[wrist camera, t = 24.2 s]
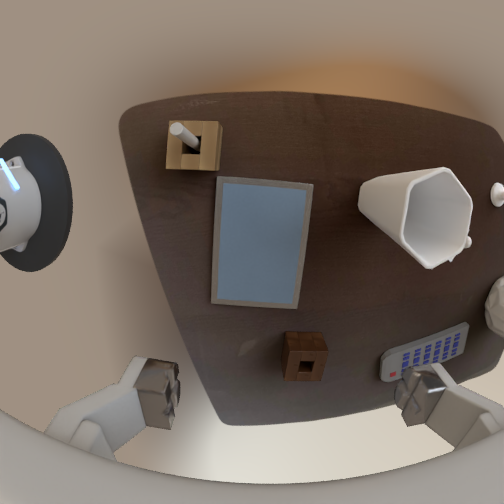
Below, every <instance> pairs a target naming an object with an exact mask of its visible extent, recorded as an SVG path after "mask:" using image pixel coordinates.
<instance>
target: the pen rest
mask: <svg viewBox="0 0 504 504" xmlns="http://www.w3.org/2000/svg"><path fill="white" fill-rule="evenodd" d="M176 122H178V123H181V124H182V125H183V126H184V127H185V128H186V129H187V130H189V131H190V132H191V133H192V134H193V135H194V136H195V137H196V138H197V139H199V140H201V148H200V155H199V154H191V147H190V146H189V145H187V144H186V143H184V142H183V141H181V140H180V139H178V138H177V137H175V136H174V135H172V134H171V133H170V127H171V125H172V124H173V123H176ZM222 131H223V128H222V126H221V125H220V123H219V122H218V121H169V131H168V143H167V157H166V169H185V170H210V171H219V168H220V155H221V143H222Z"/></svg>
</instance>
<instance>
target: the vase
mask: <svg viewBox="0 0 504 504" xmlns="http://www.w3.org/2000/svg"><path fill="white" fill-rule="evenodd" d="M485 318H486V323H487V325H488V327H489V328H490V329H491V330H492V331H494V332H495V333H496V334H497V335H499V336H501V337H503V338H504V276H503V277H501V278H499V279H498V280H497V281H496V282H495V283H494V285H493V286H492V288H491V290H490V292H489V295H488V297H487V299H486V302H485Z"/></svg>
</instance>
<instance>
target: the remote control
mask: <svg viewBox="0 0 504 504" xmlns="http://www.w3.org/2000/svg"><path fill="white" fill-rule="evenodd" d="M468 329H469V325H468V324H467V323H466V322H463V323H461V324H458V325H456V326H454V327H451V328H449V329H446V330H443V331H441V332H438V333H436V334H433V335H430V336H427V337H425V338H422V339H419V340H416V341H413V342H410V343H407V344H404V345H401V346H398V347H395V348H392V349H389V350H387V351H386V352H385V353H384V354H383V355H382V357H381V361H380V373H379V377H380V378H381V380H383V381H384V382H391V381H394V380H397V379H400V378H402V376H401V375H402V373H403V370H404V369H405V368H406V367H410V366H418V365H425V364H430V363H436V362H438V363H442V362H444V361H446V360H449V359H451V358H453V357H455V356H457V355H460V354H462V353H463V351H464V347H465V343H466V338H467V334H468Z"/></svg>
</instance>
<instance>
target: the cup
mask: <svg viewBox="0 0 504 504" xmlns="http://www.w3.org/2000/svg"><path fill="white" fill-rule="evenodd" d="M358 208H359V211H360V212H361V213H363V214H364V215H365V216H366V217H367V218H368V219H369V220H370V221H371V222H373V223H374V224H375V225H376V226H378V227H379V228H380V229H381V230H382V231H384V232H385V233H386V234H387V235H388V236H390V237H391V238H392V239H393V240H394V241H395V242H397V243H398V244H399V245H400V246H401V247H402V248H403V249H405V250H406V251H407V252H408V253H409V254H410V255H411V256H412V257H414V258H415V259H416V260H417V261H418V262H419V263H420V264H421V265H422V266H423V267H425V268H426V269H433V268H434V267H436V266H438V265H440V264H442V263H443V262H445V261H447V260H448V259H450V258H452V257H454V256H455V255H457V254H459V253H460V252H461V251H462V250H463V248H464V247H465V244H466V239H467V235H468V230H469V225H470V219H471V214H472V208H473V205H472V199H471V197H470V196H469V194H468V193H467V191H466V190H465V189H464V187H463V186H462V185H461V183H460V182H459V180H458V179H457V178H456V177H455V175H454V174H453V173H452V171H451V170H450V169H448V168H445V167H442V168H434V169H427V170H419V171H412V172H406V173H399V174H392V175H386V176H380V177H377V178H374V179H372V180H369V181H367V182H364V183H363V184H362V186H361V187H360V193H359V200H358Z"/></svg>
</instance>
